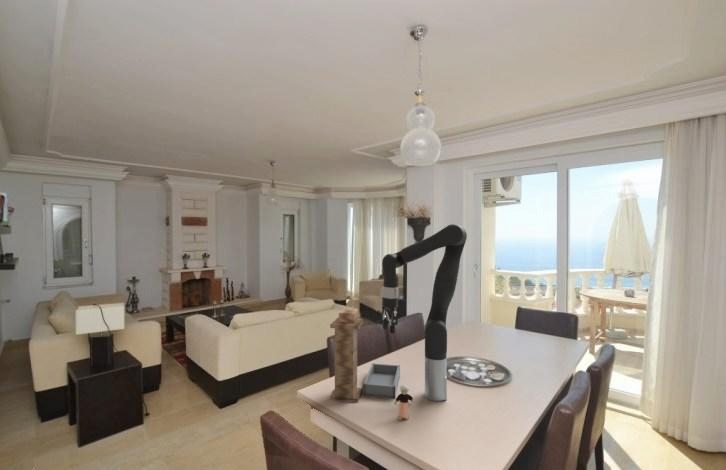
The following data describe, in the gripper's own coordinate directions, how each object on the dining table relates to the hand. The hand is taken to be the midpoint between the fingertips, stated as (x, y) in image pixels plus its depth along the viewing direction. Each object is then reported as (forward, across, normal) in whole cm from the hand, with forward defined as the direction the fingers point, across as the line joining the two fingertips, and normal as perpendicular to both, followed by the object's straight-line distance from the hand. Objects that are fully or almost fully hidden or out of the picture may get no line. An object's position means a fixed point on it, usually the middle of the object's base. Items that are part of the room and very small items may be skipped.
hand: (388, 330), depth 158 cm
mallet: (-6, +2, +18) cm, 19 cm away
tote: (+25, 0, +2) cm, 25 cm away
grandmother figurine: (+25, -29, +4) cm, 39 cm away
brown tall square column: (+26, -4, +20) cm, 33 cm away
